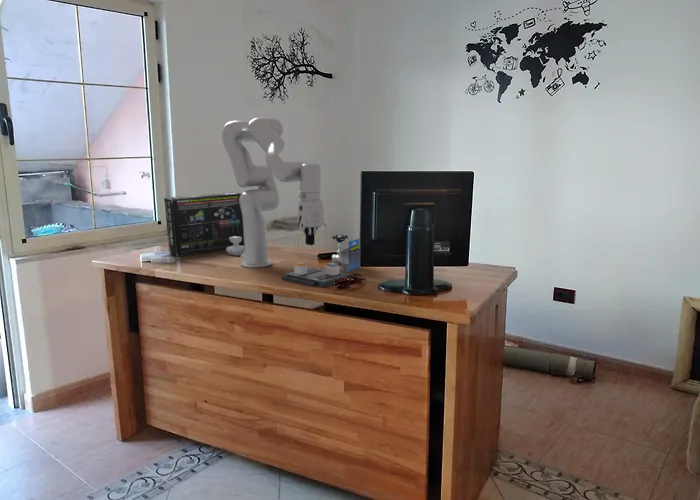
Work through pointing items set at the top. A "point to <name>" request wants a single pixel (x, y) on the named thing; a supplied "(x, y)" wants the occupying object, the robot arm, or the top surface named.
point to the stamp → (235, 246)
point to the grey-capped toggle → (332, 269)
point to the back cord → (339, 272)
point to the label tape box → (350, 256)
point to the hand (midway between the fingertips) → (309, 244)
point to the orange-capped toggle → (300, 268)
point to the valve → (338, 257)
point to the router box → (203, 222)
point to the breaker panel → (318, 277)
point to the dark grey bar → (298, 281)
